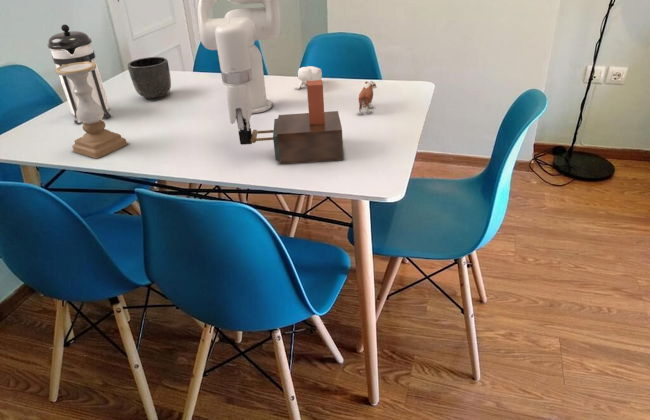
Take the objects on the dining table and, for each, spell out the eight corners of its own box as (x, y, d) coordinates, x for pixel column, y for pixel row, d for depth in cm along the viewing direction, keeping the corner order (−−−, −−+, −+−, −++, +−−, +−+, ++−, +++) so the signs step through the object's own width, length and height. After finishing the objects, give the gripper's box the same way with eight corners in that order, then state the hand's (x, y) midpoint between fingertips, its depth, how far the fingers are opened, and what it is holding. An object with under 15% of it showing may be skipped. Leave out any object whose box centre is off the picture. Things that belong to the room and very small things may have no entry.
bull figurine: (378, 102, 166) (378, 78, 162) (368, 117, 156) (368, 91, 151) (365, 101, 168) (365, 78, 163) (354, 116, 157) (354, 91, 153)
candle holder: (96, 158, 139) (69, 74, 126) (73, 151, 144) (44, 69, 131) (128, 144, 146) (105, 63, 134) (104, 138, 152) (80, 59, 139)
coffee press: (127, 110, 172) (102, 19, 157) (91, 126, 160) (61, 30, 144) (91, 105, 179) (64, 17, 163) (54, 120, 167) (21, 28, 151)
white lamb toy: (302, 90, 191) (291, 87, 177) (303, 67, 190) (291, 63, 175) (323, 90, 189) (314, 88, 175) (324, 67, 188) (315, 63, 173)
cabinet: (280, 164, 130) (277, 134, 126) (281, 143, 142) (278, 114, 137) (343, 160, 130) (342, 129, 126) (339, 139, 142) (337, 110, 137)
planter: (182, 93, 185) (175, 58, 178) (153, 105, 175) (145, 69, 168) (157, 88, 192) (149, 55, 185) (128, 100, 182) (118, 64, 175)
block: (309, 124, 130) (306, 85, 124) (309, 119, 133) (306, 80, 128) (324, 123, 130) (322, 84, 124) (324, 118, 133) (322, 79, 128)
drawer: (252, 162, 130) (248, 138, 126) (255, 143, 140) (252, 120, 137) (334, 156, 130) (333, 132, 127) (331, 137, 141) (330, 115, 137)
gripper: (226, 68, 130) (236, 133, 140) (217, 86, 118) (229, 155, 127) (254, 67, 130) (262, 131, 140) (248, 84, 118) (258, 154, 127)
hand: (246, 143), depth 134 cm, fingers closed
